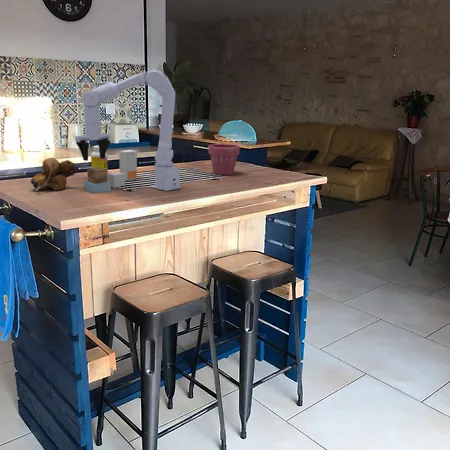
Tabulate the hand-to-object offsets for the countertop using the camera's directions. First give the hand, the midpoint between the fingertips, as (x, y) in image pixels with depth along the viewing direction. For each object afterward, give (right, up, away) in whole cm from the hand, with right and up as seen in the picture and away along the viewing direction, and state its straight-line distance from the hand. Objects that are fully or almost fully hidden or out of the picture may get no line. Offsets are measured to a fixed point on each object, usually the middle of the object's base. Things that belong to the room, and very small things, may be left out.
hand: (94, 159), depth 192 cm
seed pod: (-15, -12, -4) cm, 19 cm away
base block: (+2, -13, -4) cm, 14 cm away
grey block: (+7, -10, +4) cm, 13 cm away
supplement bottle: (-3, -5, +22) cm, 23 cm away
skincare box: (+10, -6, +17) cm, 21 cm away
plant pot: (+50, -2, +37) cm, 62 cm away
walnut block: (+3, -9, -5) cm, 11 cm away
